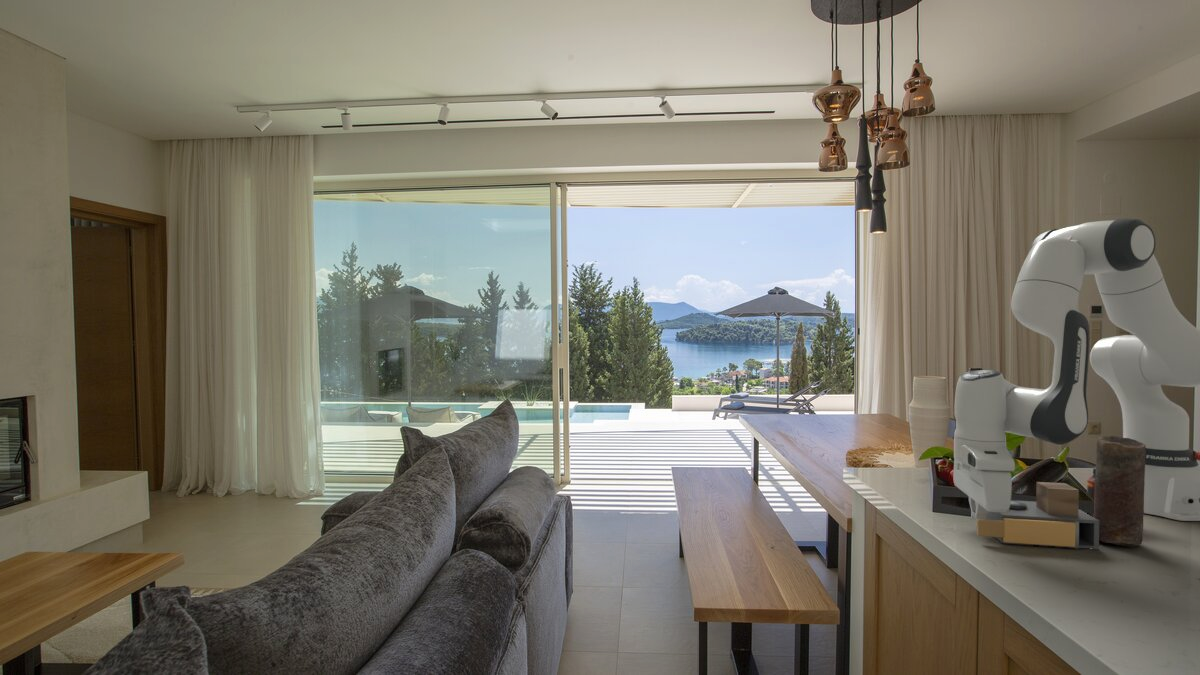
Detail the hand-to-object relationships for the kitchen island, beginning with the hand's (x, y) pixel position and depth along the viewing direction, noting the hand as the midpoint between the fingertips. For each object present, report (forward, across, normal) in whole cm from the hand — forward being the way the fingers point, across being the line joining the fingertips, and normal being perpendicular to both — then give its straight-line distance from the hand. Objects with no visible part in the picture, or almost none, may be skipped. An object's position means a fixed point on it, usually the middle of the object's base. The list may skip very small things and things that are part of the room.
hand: (978, 521), depth 123 cm
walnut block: (-3, 0, +14) cm, 14 cm away
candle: (+3, 0, +24) cm, 24 cm away
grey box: (+3, -1, +11) cm, 11 cm away
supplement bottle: (+3, -14, +29) cm, 32 cm away
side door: (+2, +5, +7) cm, 9 cm away
